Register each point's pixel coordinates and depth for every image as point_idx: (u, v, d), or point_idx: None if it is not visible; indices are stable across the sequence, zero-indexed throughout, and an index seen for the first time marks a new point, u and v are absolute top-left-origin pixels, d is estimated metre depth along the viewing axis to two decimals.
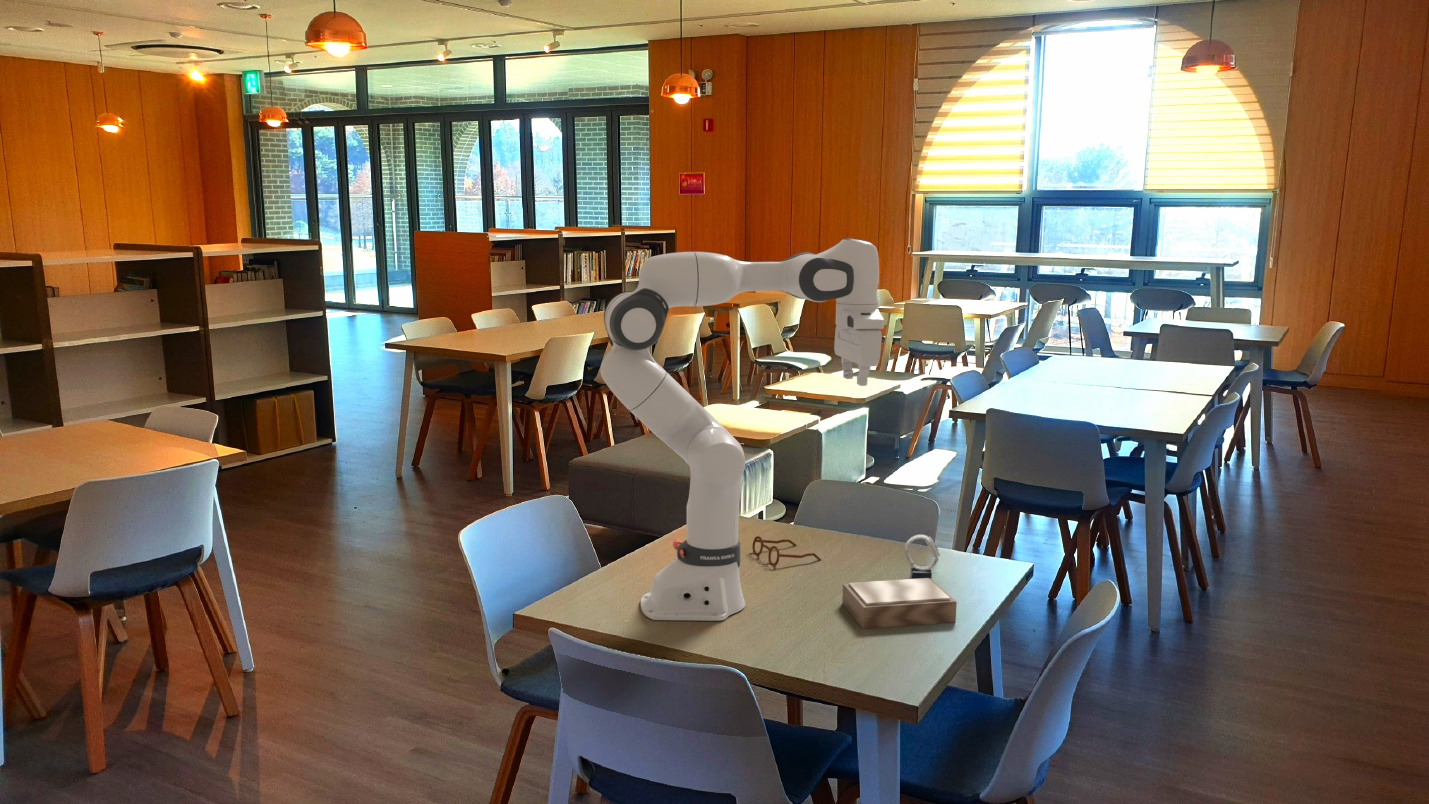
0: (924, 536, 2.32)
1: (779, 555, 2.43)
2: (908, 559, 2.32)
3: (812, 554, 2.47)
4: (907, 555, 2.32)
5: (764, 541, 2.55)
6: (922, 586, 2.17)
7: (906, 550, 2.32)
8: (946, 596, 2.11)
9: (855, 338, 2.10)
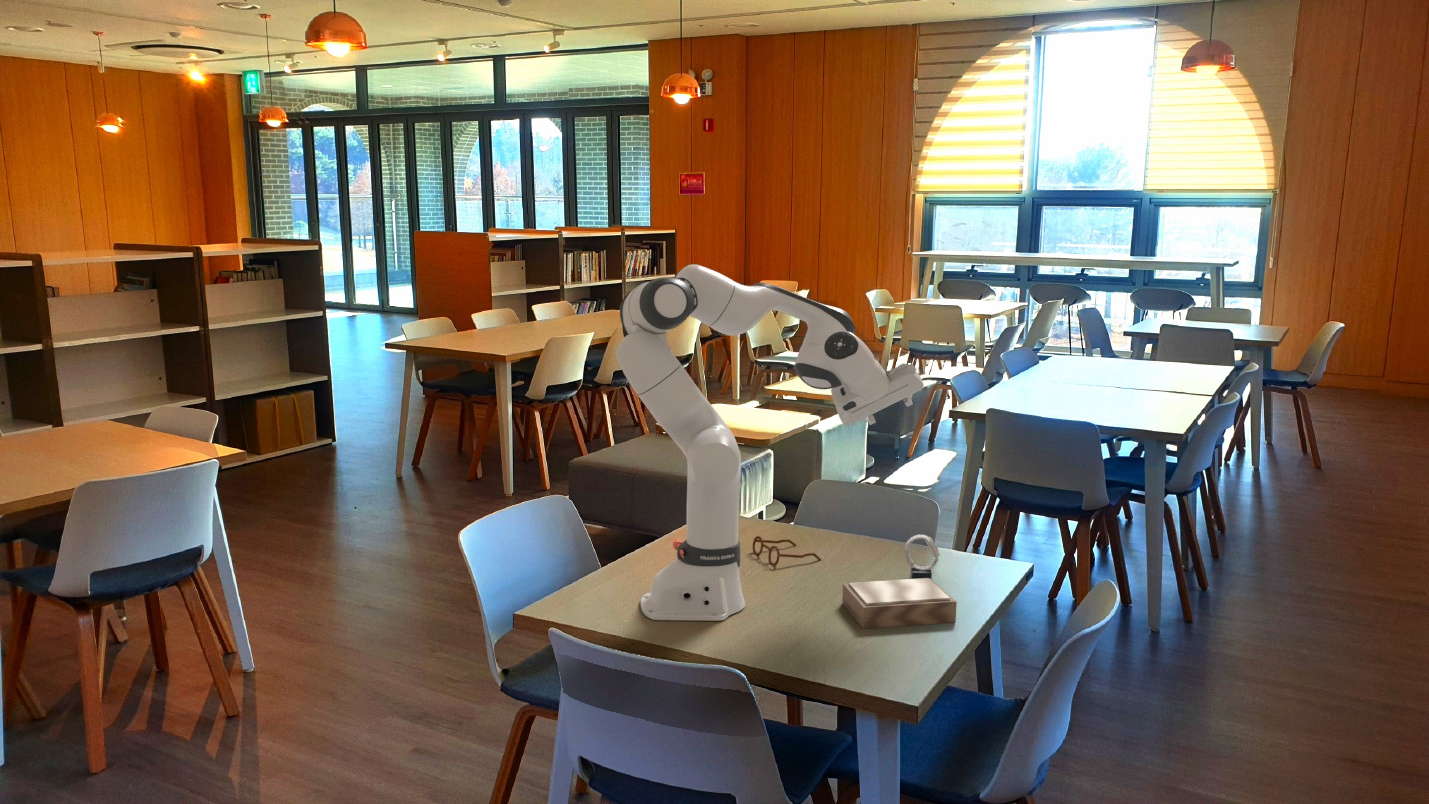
0: (924, 536, 2.32)
1: (779, 555, 2.43)
2: (908, 559, 2.32)
3: (812, 554, 2.47)
4: (907, 555, 2.32)
5: (764, 541, 2.55)
6: (922, 586, 2.17)
7: (906, 550, 2.32)
8: (946, 596, 2.11)
9: None
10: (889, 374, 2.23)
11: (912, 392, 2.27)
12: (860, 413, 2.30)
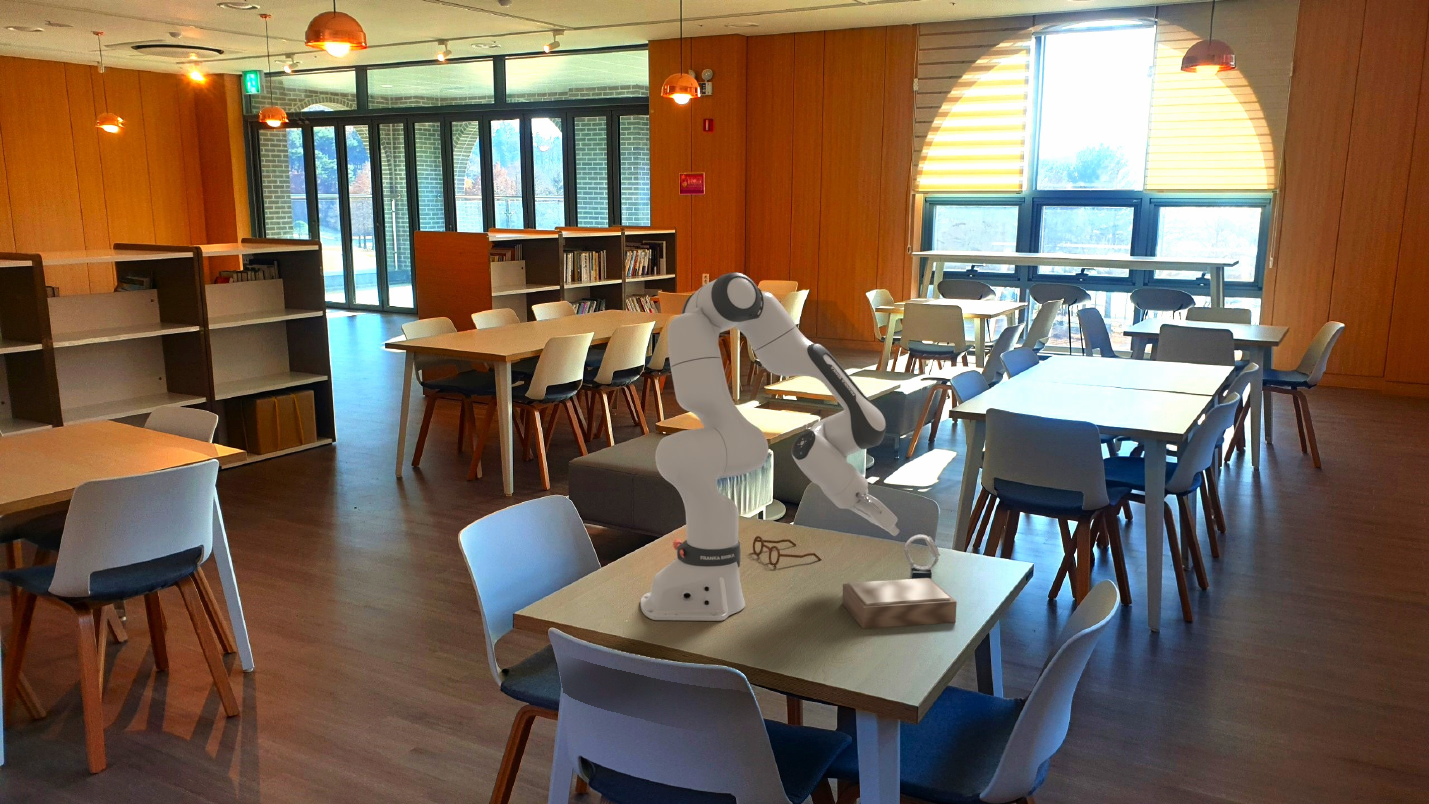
0: (924, 536, 2.32)
1: (779, 555, 2.43)
2: (908, 559, 2.32)
3: (812, 554, 2.47)
4: (907, 555, 2.32)
5: (764, 541, 2.55)
6: (922, 586, 2.17)
7: (906, 550, 2.32)
8: (946, 596, 2.11)
9: None
10: (857, 497, 2.20)
11: (880, 526, 2.21)
12: None
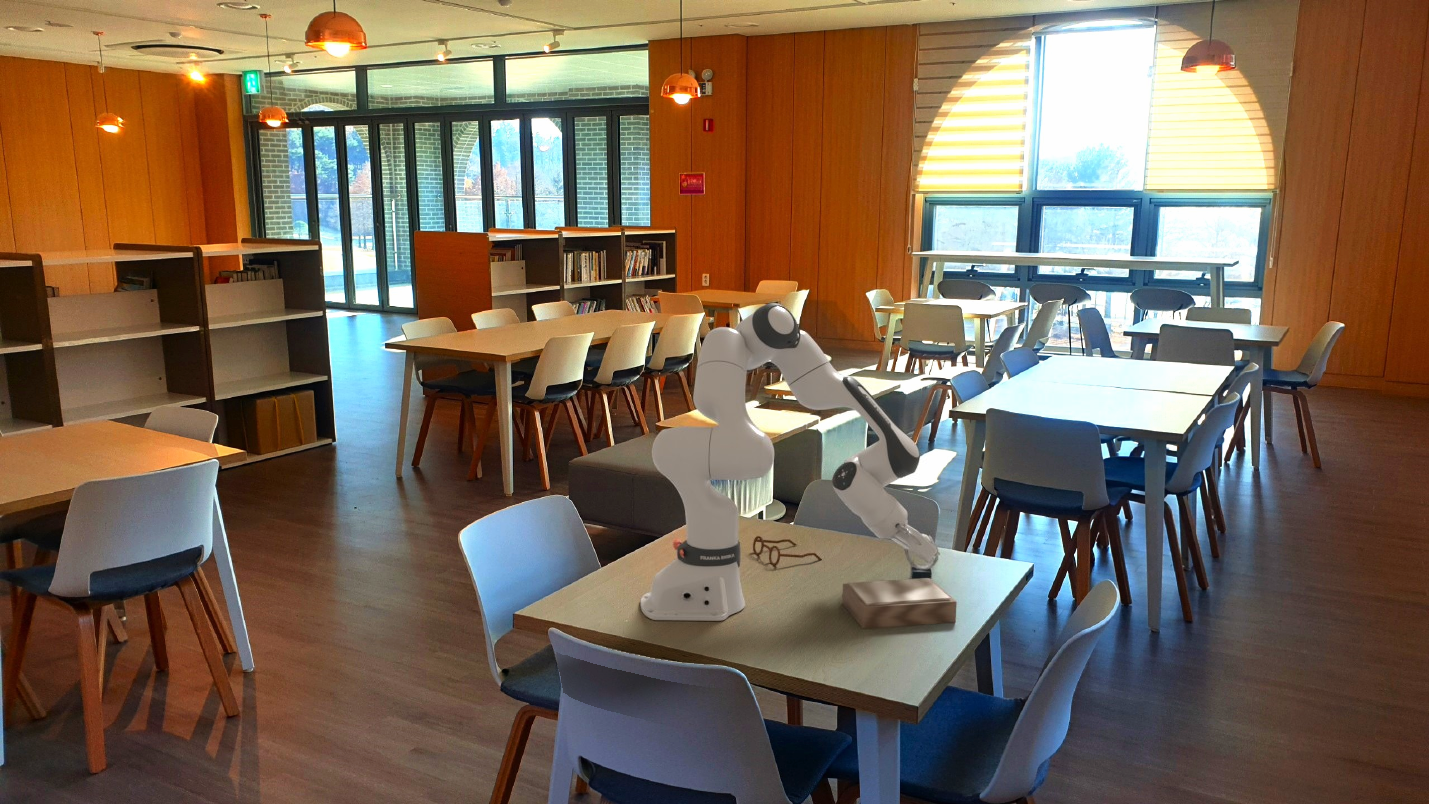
0: (924, 535, 2.32)
1: (780, 555, 2.43)
2: (908, 558, 2.32)
3: (813, 554, 2.47)
4: (907, 554, 2.32)
5: (764, 541, 2.55)
6: (922, 586, 2.17)
7: (906, 549, 2.32)
8: (946, 596, 2.11)
9: None
10: (897, 527, 2.24)
11: None
12: None
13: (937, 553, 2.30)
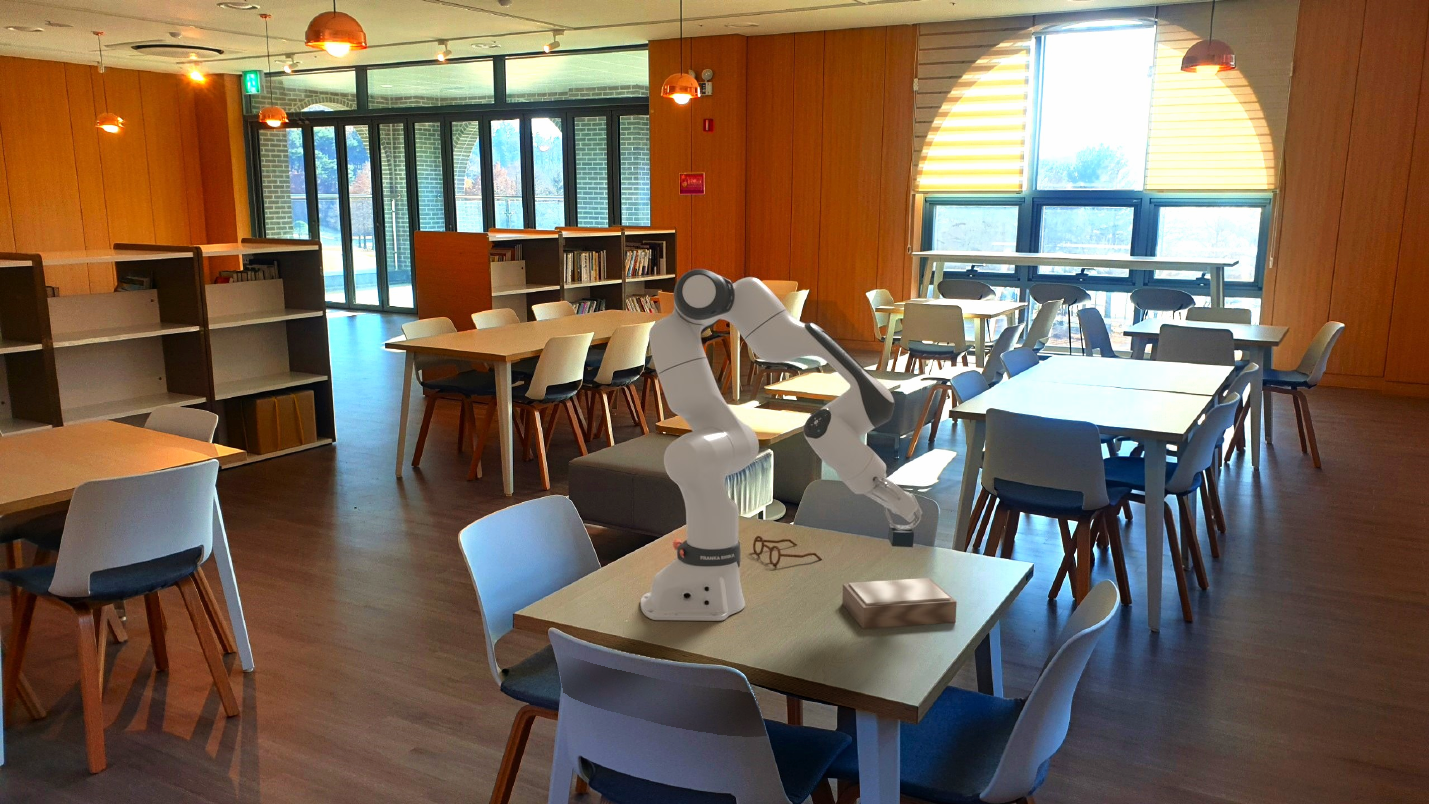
0: (906, 492, 2.12)
1: (780, 555, 2.43)
2: (888, 517, 2.12)
3: (813, 554, 2.47)
4: (887, 513, 2.12)
5: (765, 541, 2.55)
6: (922, 586, 2.17)
7: (886, 508, 2.12)
8: (946, 596, 2.11)
9: None
10: (874, 481, 2.04)
11: (899, 514, 2.05)
12: None
13: (920, 512, 2.11)
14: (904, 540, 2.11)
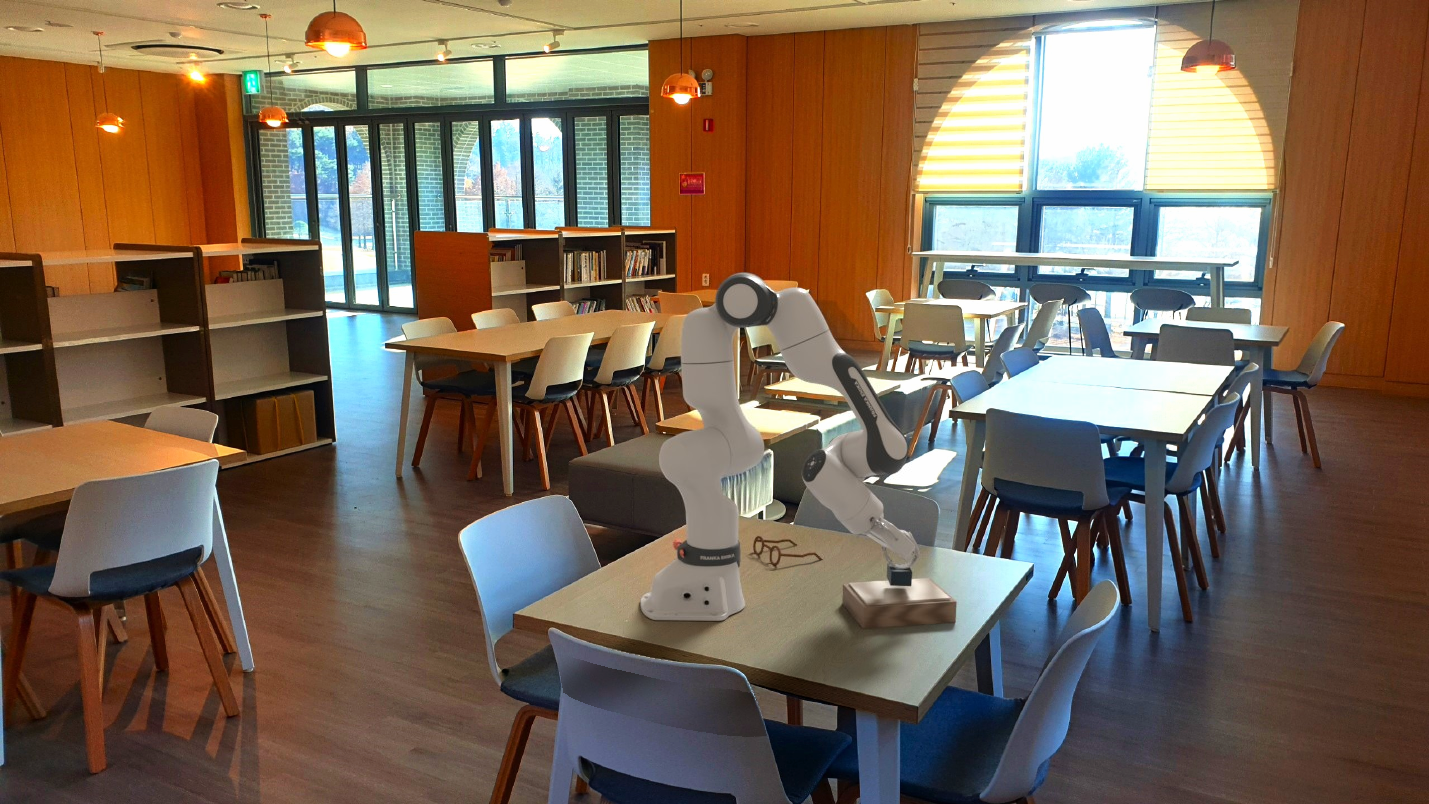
0: (903, 531, 2.12)
1: (780, 555, 2.43)
2: (886, 557, 2.12)
3: (813, 553, 2.47)
4: (885, 552, 2.12)
5: (765, 541, 2.55)
6: (922, 586, 2.17)
7: (884, 547, 2.12)
8: (946, 596, 2.11)
9: None
10: (871, 522, 2.04)
11: None
12: None
13: (918, 551, 2.11)
14: (902, 579, 2.11)
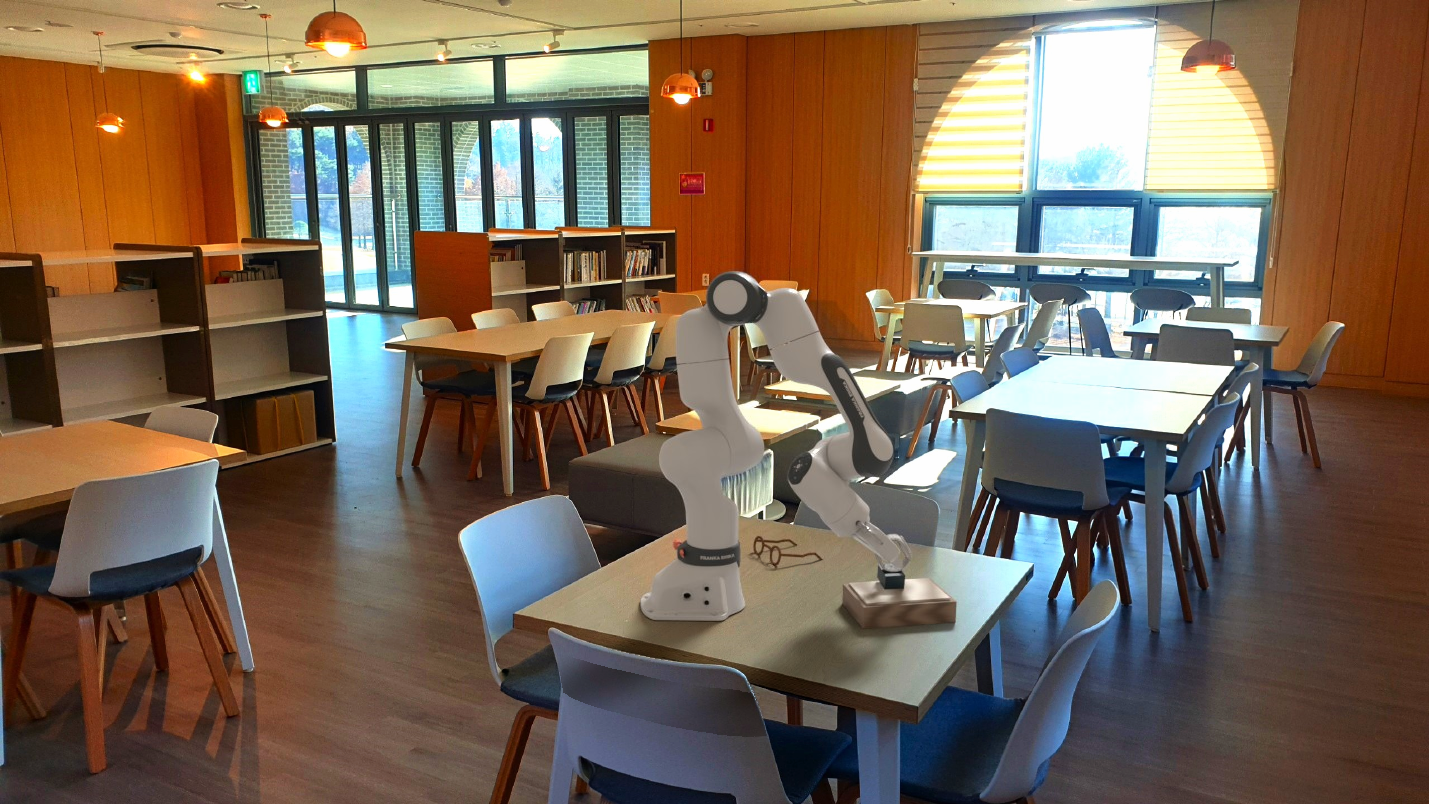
0: (896, 536, 2.14)
1: (781, 554, 2.43)
2: (880, 562, 2.14)
3: (813, 553, 2.47)
4: (879, 558, 2.14)
5: (765, 541, 2.55)
6: (922, 586, 2.17)
7: None
8: (946, 596, 2.11)
9: None
10: (857, 525, 2.03)
11: None
12: None
13: (911, 555, 2.14)
14: (895, 583, 2.15)
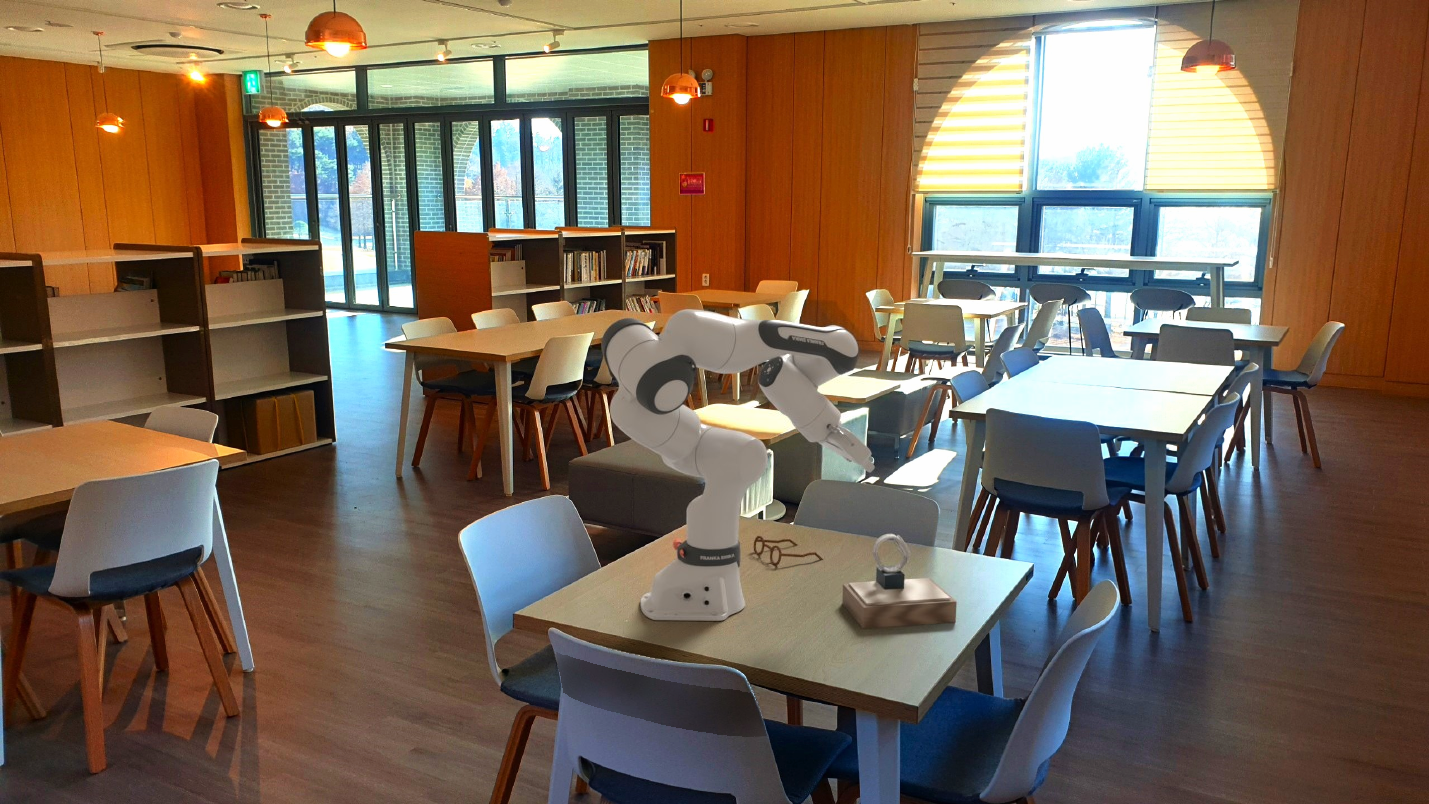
0: (893, 535, 2.16)
1: (781, 554, 2.43)
2: (879, 561, 2.15)
3: (813, 553, 2.47)
4: (878, 557, 2.15)
5: (765, 541, 2.55)
6: (922, 586, 2.17)
7: (876, 552, 2.15)
8: (946, 596, 2.11)
9: None
10: (828, 428, 2.04)
11: (853, 461, 2.05)
12: (824, 443, 2.16)
13: (909, 553, 2.15)
14: (895, 582, 2.15)
